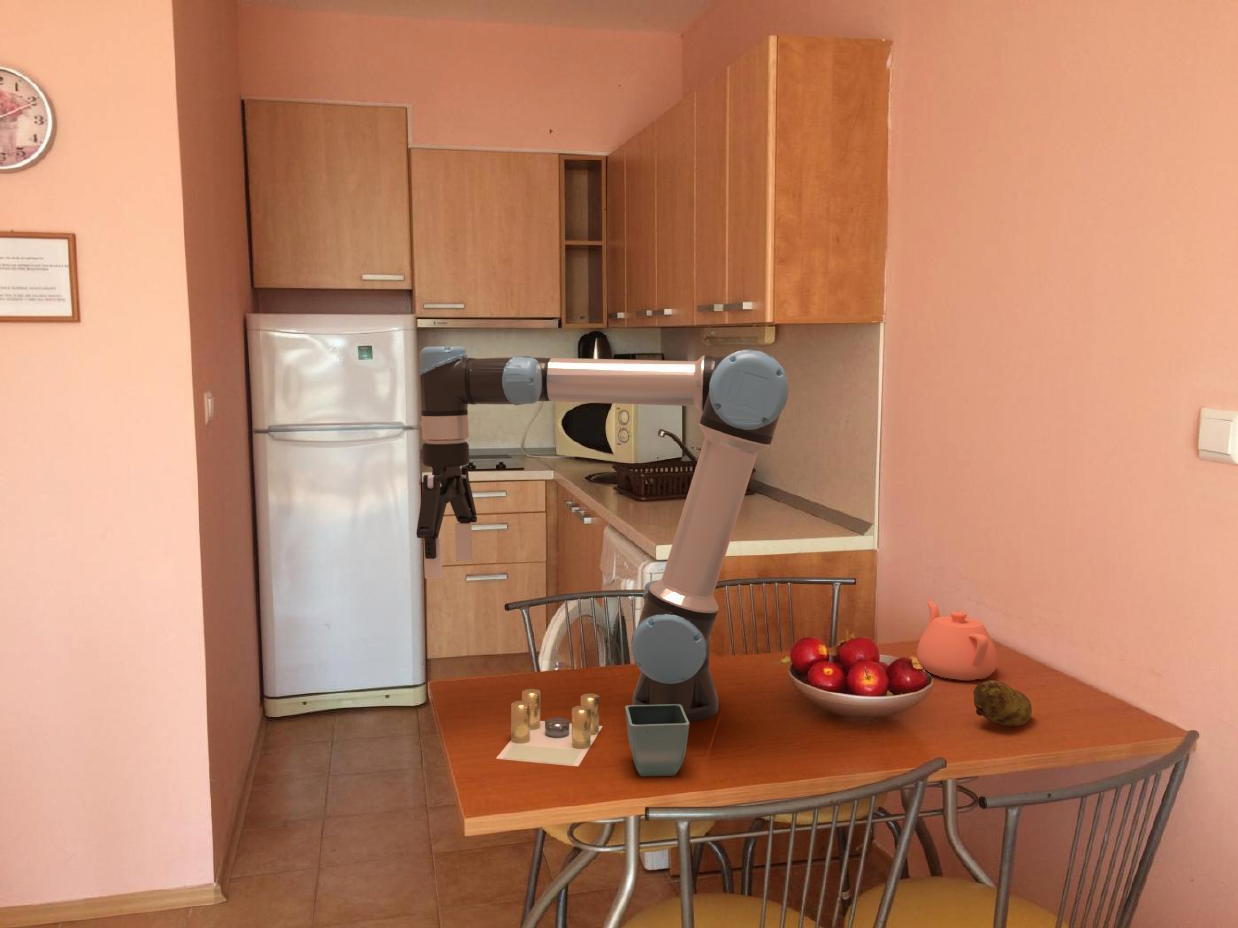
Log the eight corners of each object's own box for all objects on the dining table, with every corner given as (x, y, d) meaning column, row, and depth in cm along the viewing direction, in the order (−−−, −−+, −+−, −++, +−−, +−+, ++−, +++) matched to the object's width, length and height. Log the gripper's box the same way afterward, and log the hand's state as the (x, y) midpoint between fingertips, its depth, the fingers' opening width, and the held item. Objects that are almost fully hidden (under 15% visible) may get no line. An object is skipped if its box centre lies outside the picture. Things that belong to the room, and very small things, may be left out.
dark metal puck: (571, 730, 170) (572, 718, 170) (565, 739, 166) (566, 727, 166) (548, 728, 171) (548, 716, 171) (542, 737, 167) (542, 725, 167)
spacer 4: (592, 742, 165) (592, 706, 164) (588, 749, 162) (588, 712, 161) (574, 741, 165) (574, 704, 165) (569, 748, 162) (569, 711, 162)
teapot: (893, 656, 215) (895, 599, 214) (959, 653, 218) (962, 596, 217) (947, 691, 194) (950, 627, 192) (1019, 687, 197) (1023, 624, 195)
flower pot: (623, 760, 159) (624, 704, 158) (680, 759, 160) (681, 703, 159) (629, 784, 150) (630, 724, 149) (688, 782, 151) (690, 723, 150)
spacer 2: (542, 724, 173) (542, 689, 172) (537, 730, 170) (537, 695, 169) (525, 722, 173) (525, 688, 172) (519, 729, 170) (519, 693, 170)
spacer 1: (532, 737, 167) (532, 701, 166) (526, 744, 164) (527, 707, 163) (514, 735, 167) (514, 699, 167) (508, 742, 164) (508, 706, 164)
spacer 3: (600, 729, 171) (600, 694, 170) (596, 735, 168) (596, 700, 167) (582, 727, 171) (583, 692, 170) (578, 734, 168) (578, 698, 168)
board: (602, 728, 172) (602, 725, 172) (578, 769, 156) (578, 765, 155) (527, 722, 175) (527, 719, 175) (495, 761, 158) (495, 757, 158)
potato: (1051, 728, 175) (1054, 683, 174) (989, 737, 170) (992, 690, 170) (1017, 712, 183) (1019, 668, 182) (957, 720, 178) (959, 675, 177)
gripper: (452, 435, 181) (455, 553, 183) (391, 448, 157) (396, 585, 159) (492, 435, 179) (496, 555, 182) (437, 448, 155) (442, 586, 157)
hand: (449, 569), depth 170 cm, fingers open, 13 cm apart
